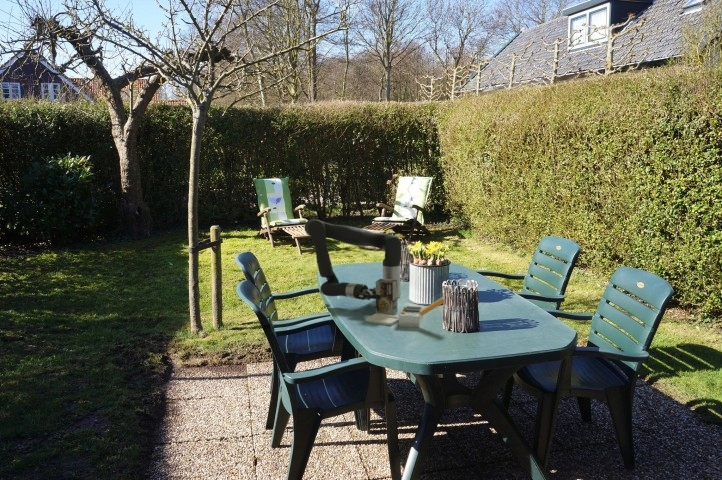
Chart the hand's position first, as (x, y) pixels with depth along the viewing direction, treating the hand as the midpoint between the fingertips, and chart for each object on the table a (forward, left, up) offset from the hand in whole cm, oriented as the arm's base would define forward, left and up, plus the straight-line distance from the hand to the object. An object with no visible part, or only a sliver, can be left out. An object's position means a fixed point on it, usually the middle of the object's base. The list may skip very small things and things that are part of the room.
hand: (384, 295), depth 272 cm
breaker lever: (+8, +23, -4) cm, 25 cm away
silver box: (+7, +18, -9) cm, 21 cm away
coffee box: (0, +1, -9) cm, 9 cm away
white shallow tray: (+11, +6, -9) cm, 15 cm away
